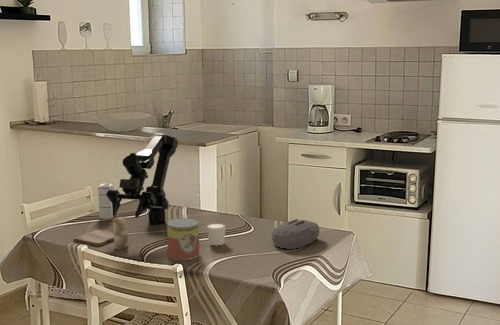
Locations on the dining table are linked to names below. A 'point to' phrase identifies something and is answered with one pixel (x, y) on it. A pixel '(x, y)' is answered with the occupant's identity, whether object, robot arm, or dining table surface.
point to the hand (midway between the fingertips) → (124, 216)
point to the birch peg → (120, 232)
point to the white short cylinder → (216, 234)
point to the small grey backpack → (295, 234)
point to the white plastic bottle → (105, 201)
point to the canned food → (183, 238)
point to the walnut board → (96, 238)
